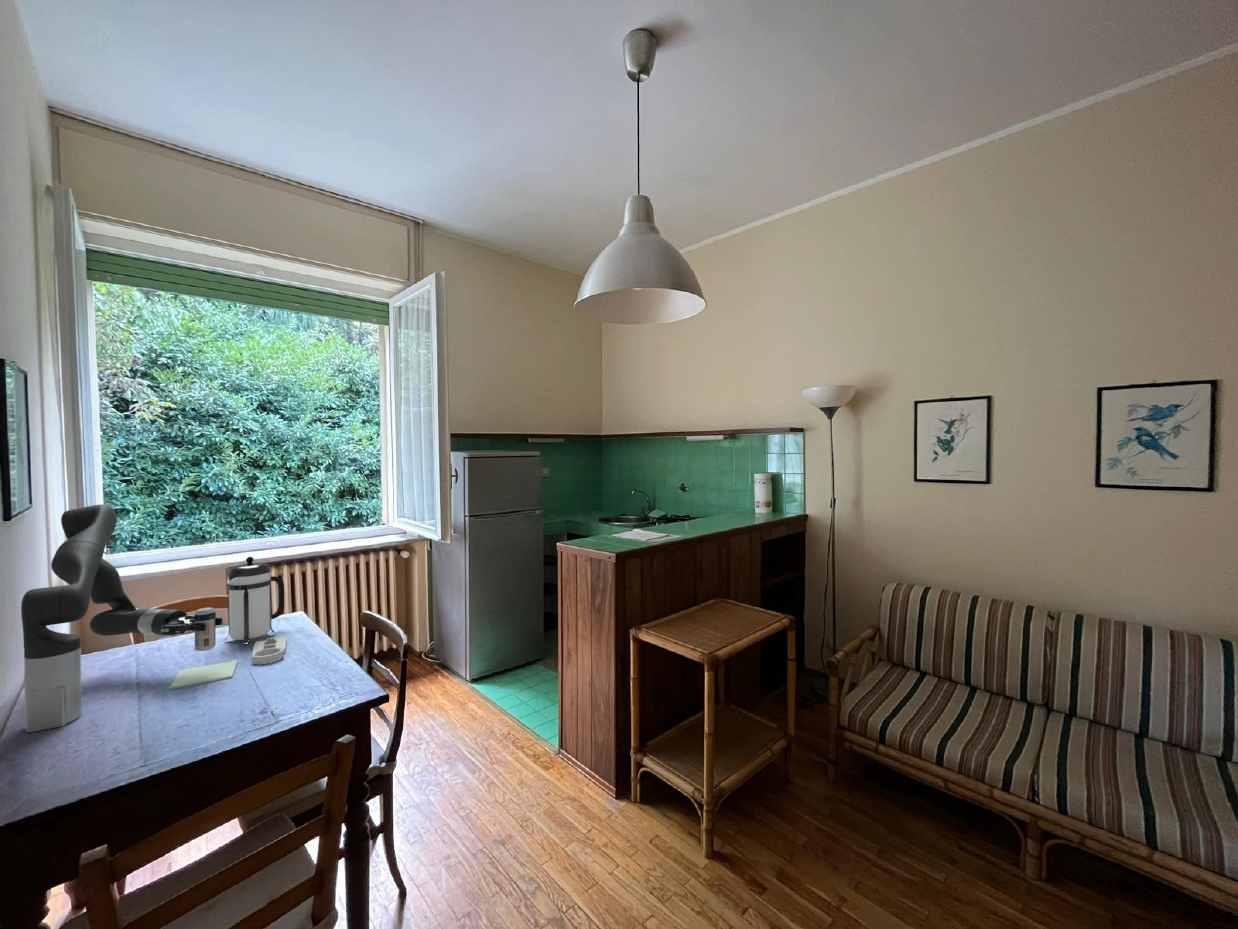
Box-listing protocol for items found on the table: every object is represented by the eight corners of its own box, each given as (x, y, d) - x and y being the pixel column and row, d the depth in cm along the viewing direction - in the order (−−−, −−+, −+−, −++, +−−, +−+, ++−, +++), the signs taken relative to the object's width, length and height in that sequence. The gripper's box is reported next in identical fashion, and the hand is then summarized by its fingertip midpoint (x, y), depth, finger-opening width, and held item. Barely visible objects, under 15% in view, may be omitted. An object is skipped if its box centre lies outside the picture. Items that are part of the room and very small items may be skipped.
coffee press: (272, 642, 177) (271, 558, 177) (217, 649, 171) (216, 562, 171) (285, 627, 193) (284, 550, 193) (235, 633, 187) (234, 554, 187)
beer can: (219, 645, 152) (219, 606, 152) (207, 651, 147) (207, 611, 147) (203, 645, 152) (203, 606, 152) (190, 651, 147) (190, 611, 147)
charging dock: (283, 660, 160) (283, 653, 160) (249, 667, 155) (249, 659, 155) (286, 641, 178) (286, 634, 178) (255, 646, 173) (255, 639, 173)
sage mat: (232, 677, 147) (232, 675, 147) (169, 689, 140) (169, 687, 140) (237, 662, 159) (237, 660, 159) (180, 672, 151) (180, 670, 151)
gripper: (137, 617, 144) (190, 619, 142) (185, 603, 158) (234, 605, 156) (137, 643, 144) (190, 645, 142) (185, 626, 158) (234, 628, 156)
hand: (213, 624), depth 149 cm, fingers closed on beer can, 4 cm apart
